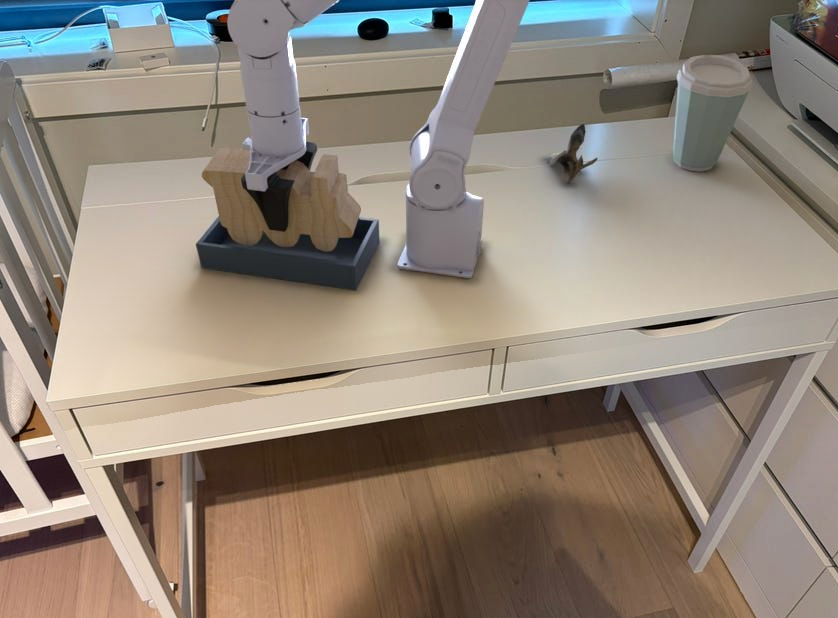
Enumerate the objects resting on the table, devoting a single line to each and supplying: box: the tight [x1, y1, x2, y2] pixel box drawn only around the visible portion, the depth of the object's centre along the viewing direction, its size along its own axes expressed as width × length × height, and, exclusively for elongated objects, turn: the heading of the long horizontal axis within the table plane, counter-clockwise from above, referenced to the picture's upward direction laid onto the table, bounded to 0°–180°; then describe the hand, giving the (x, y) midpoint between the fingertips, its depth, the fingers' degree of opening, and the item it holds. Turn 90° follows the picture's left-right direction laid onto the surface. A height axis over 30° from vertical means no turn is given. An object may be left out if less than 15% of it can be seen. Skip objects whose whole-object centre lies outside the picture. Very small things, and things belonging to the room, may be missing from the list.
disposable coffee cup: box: [672, 54, 753, 172], centre depth 109 cm, size 11×11×15 cm
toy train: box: [201, 147, 362, 252], centre depth 87 cm, size 6×17×10 cm, turn 85°
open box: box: [195, 215, 380, 291], centre depth 91 cm, size 20×11×4 cm, turn 79°
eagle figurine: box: [544, 123, 599, 185], centre depth 109 cm, size 8×7×9 cm
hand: (287, 215), depth 88 cm, fingers closed on toy train, 6 cm apart
